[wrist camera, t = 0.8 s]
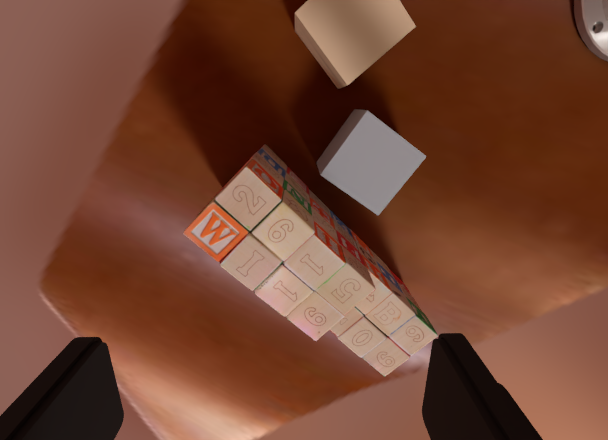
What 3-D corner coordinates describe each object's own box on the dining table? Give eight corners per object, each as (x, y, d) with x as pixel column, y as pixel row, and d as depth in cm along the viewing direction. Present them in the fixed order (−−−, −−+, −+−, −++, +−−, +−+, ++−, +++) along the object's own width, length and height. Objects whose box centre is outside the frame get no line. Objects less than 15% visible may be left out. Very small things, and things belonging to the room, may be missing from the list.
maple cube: (350, -22, 27) (365, -55, 22) (392, 41, 29) (415, 26, 23) (294, 30, 28) (294, 12, 23) (337, 88, 30) (347, 85, 24)
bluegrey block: (354, 108, 31) (367, 110, 25) (403, 146, 32) (426, 156, 26) (316, 162, 32) (320, 174, 26) (364, 196, 33) (378, 215, 28)
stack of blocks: (405, 281, 37) (456, 364, 25) (363, 316, 38) (392, 409, 27) (264, 142, 31) (245, 164, 20) (220, 187, 33) (179, 233, 21)
